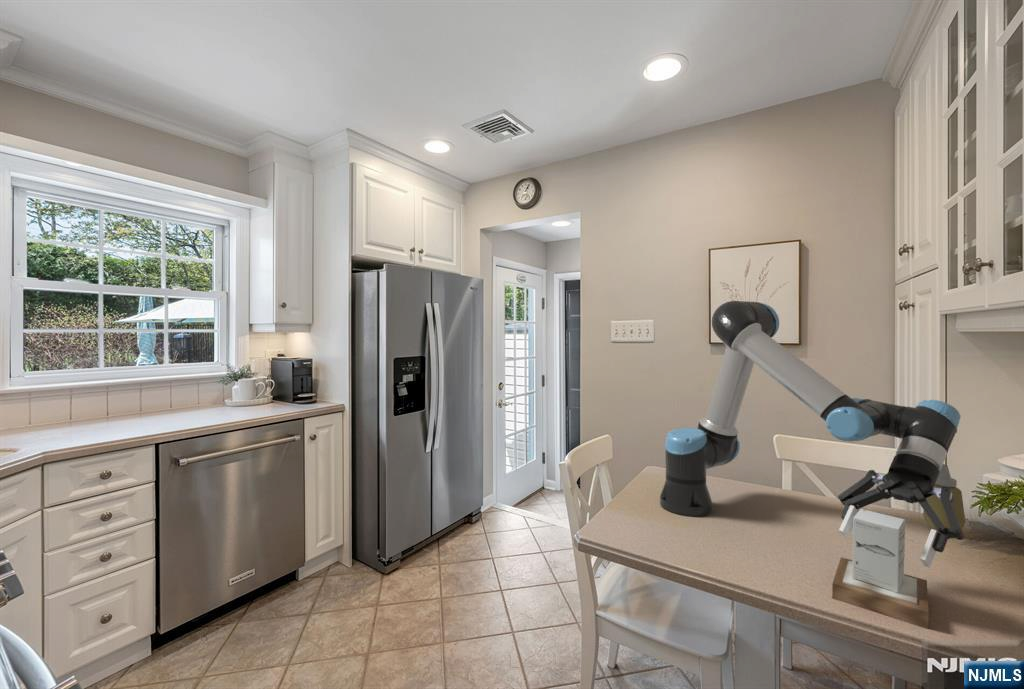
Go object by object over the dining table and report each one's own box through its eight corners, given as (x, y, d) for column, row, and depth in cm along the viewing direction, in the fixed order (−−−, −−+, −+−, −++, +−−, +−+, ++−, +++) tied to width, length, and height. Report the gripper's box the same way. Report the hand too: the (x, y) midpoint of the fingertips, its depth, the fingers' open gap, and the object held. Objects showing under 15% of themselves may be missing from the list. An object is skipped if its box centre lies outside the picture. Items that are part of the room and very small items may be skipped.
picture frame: (832, 597, 88) (832, 581, 88) (840, 570, 99) (840, 555, 98) (928, 628, 79) (928, 610, 79) (926, 594, 89) (926, 578, 89)
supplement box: (850, 578, 89) (851, 516, 89) (859, 566, 94) (859, 507, 94) (898, 594, 84) (899, 528, 83) (905, 580, 88) (906, 518, 88)
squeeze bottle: (963, 531, 118) (964, 464, 117) (967, 541, 112) (967, 471, 111) (922, 522, 123) (923, 458, 123) (923, 532, 117) (924, 465, 117)
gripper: (1005, 491, 85) (972, 588, 78) (857, 459, 107) (821, 533, 101) (995, 467, 82) (959, 566, 76) (845, 440, 105) (808, 515, 98)
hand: (881, 547), depth 88 cm, fingers open, 13 cm apart
